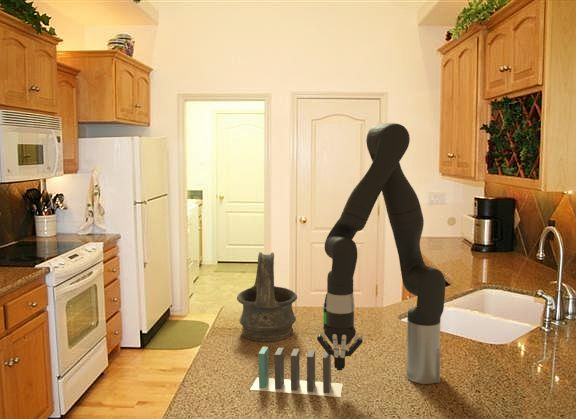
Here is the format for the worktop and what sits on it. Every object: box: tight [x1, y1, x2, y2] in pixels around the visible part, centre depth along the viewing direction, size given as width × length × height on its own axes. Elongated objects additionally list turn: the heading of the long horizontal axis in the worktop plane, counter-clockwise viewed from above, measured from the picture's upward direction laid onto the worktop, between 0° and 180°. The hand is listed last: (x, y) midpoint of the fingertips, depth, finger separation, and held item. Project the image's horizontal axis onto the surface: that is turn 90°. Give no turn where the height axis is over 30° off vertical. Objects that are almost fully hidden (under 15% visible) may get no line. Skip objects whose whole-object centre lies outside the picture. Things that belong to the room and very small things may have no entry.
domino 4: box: [306, 349, 316, 392], centre depth 143 cm, size 2×5×10 cm, turn 169°
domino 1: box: [258, 346, 270, 388], centre depth 145 cm, size 2×5×10 cm, turn 169°
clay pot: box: [236, 252, 298, 342], centre depth 187 cm, size 22×23×30 cm
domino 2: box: [274, 347, 285, 389], centre depth 145 cm, size 2×5×10 cm, turn 169°
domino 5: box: [322, 350, 332, 393], centre depth 142 cm, size 2×5×10 cm, turn 169°
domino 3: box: [290, 348, 301, 391], centre depth 144 cm, size 2×5×10 cm, turn 169°
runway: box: [249, 376, 344, 398], centre depth 144 cm, size 25×8×1 cm, turn 79°
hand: (339, 369), depth 141 cm, fingers closed
